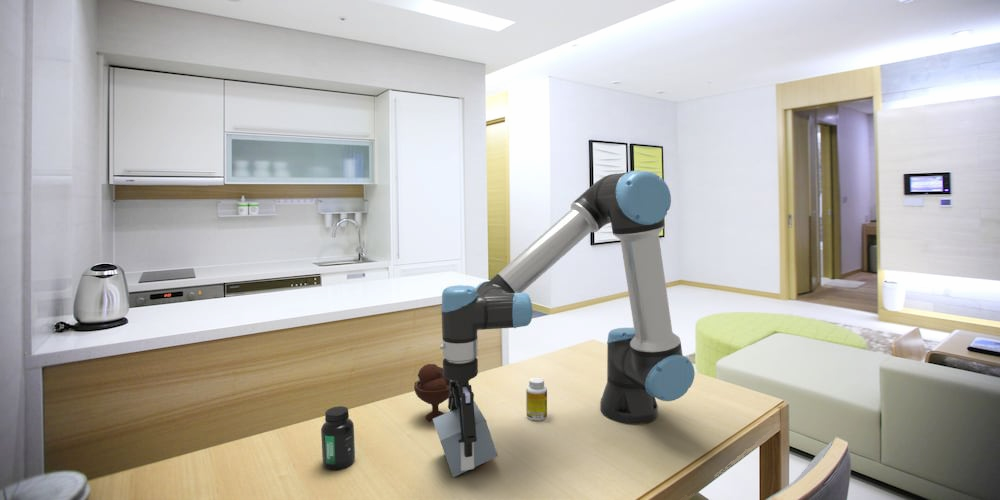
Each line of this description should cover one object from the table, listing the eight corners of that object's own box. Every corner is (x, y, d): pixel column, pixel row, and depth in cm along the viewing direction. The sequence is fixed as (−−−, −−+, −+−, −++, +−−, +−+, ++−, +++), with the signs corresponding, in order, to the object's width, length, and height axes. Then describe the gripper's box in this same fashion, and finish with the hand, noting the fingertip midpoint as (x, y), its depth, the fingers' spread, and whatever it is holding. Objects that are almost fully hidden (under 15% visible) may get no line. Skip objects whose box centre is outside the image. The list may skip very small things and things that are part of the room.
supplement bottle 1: (332, 475, 99) (329, 421, 98) (317, 463, 104) (314, 411, 102) (361, 461, 104) (358, 410, 103) (345, 450, 109) (343, 401, 107)
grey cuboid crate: (485, 433, 109) (474, 400, 108) (497, 456, 99) (485, 420, 98) (444, 452, 107) (432, 419, 105) (453, 477, 97) (440, 440, 95)
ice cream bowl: (449, 428, 119) (448, 371, 117) (408, 425, 121) (406, 369, 119) (461, 410, 129) (460, 358, 127) (422, 407, 131) (421, 355, 130)
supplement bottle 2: (548, 421, 122) (548, 383, 121) (527, 421, 122) (527, 384, 121) (545, 411, 128) (545, 375, 127) (525, 412, 128) (525, 376, 127)
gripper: (434, 344, 110) (436, 433, 112) (453, 378, 88) (455, 488, 91) (465, 341, 112) (466, 429, 114) (491, 374, 91) (492, 481, 93)
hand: (461, 455), depth 102 cm, fingers closed on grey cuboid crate, 10 cm apart
